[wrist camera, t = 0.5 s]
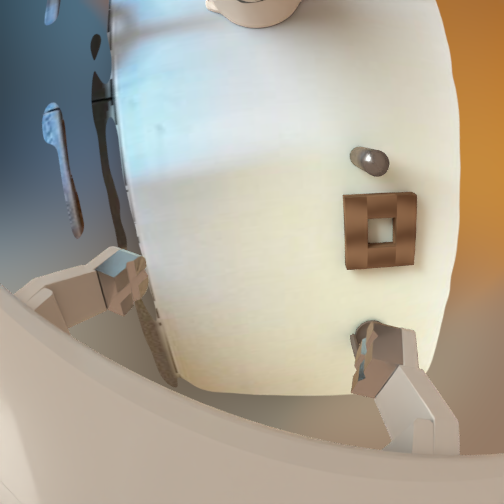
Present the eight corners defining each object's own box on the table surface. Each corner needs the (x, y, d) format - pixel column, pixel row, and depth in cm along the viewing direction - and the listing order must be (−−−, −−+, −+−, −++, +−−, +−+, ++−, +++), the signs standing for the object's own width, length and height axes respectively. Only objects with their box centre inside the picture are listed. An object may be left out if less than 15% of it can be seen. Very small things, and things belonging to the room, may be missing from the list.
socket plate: (342, 195, 49) (344, 198, 47) (411, 191, 46) (416, 194, 44) (345, 264, 54) (346, 269, 51) (409, 259, 51) (413, 264, 49)
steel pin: (349, 147, 46) (363, 150, 35) (368, 146, 45) (388, 149, 34) (350, 167, 47) (365, 176, 36) (370, 166, 46) (389, 176, 35)
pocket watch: (390, 327, 57) (400, 357, 48) (365, 352, 61) (371, 384, 51) (363, 310, 57) (371, 341, 48) (337, 337, 60) (341, 369, 51)
